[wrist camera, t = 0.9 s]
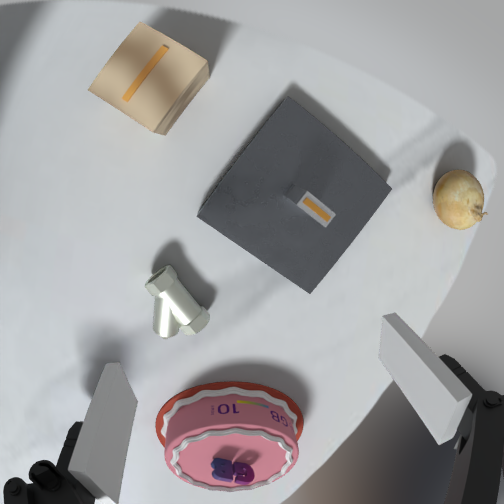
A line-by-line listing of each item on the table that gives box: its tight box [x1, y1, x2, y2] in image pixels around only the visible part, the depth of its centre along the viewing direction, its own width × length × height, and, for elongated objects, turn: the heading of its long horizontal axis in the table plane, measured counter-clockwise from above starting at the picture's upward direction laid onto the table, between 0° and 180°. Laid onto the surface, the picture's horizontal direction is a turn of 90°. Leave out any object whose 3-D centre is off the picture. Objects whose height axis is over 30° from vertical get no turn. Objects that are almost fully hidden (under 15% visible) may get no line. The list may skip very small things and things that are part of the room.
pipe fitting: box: [145, 265, 210, 339], centre depth 37 cm, size 8×4×7 cm
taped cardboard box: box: [88, 22, 210, 136], centre depth 27 cm, size 8×8×7 cm
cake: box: [156, 382, 303, 492], centre depth 42 cm, size 25×25×11 cm
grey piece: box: [197, 96, 392, 294], centre depth 32 cm, size 16×16×8 cm
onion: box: [433, 170, 488, 230], centre depth 34 cm, size 8×8×7 cm
